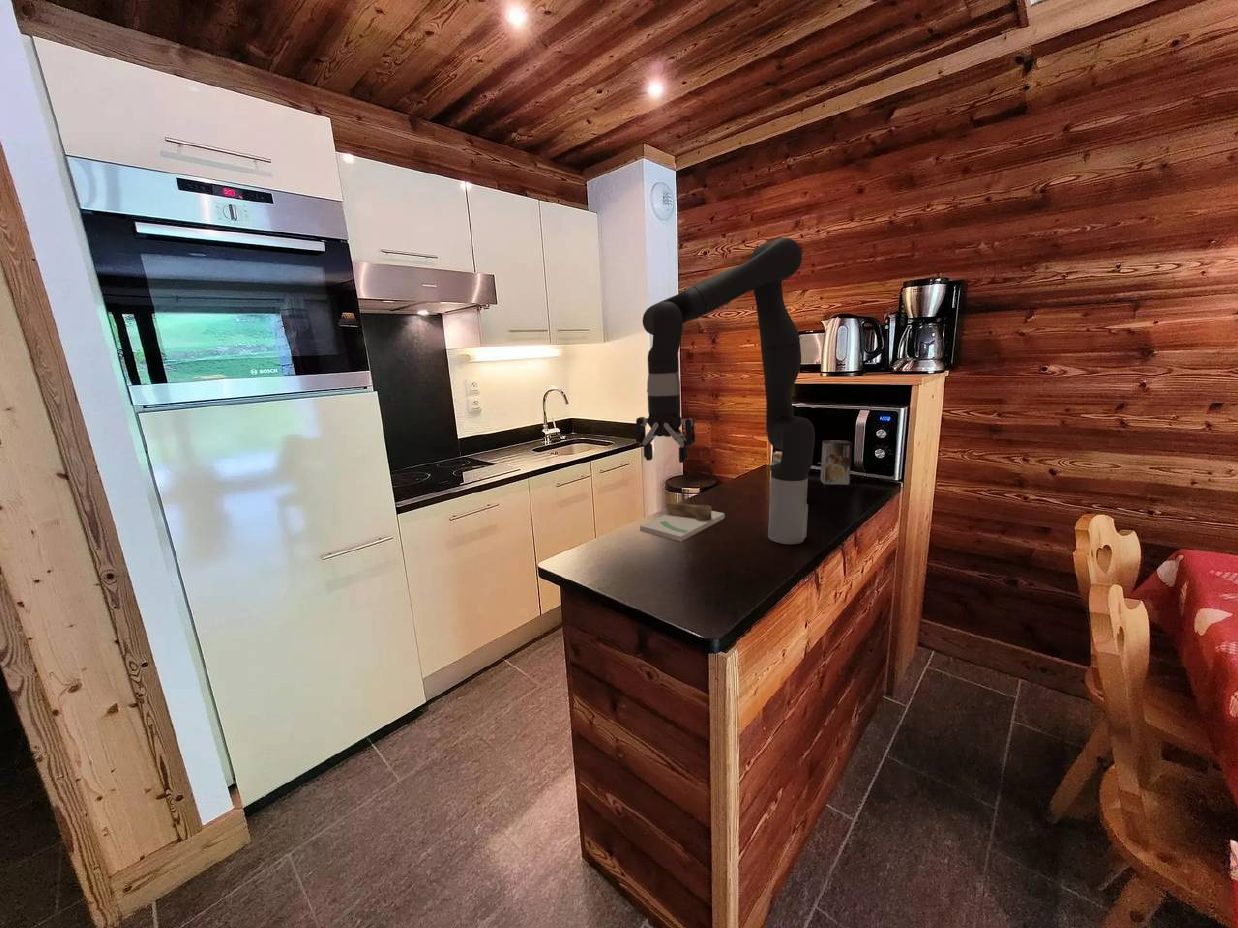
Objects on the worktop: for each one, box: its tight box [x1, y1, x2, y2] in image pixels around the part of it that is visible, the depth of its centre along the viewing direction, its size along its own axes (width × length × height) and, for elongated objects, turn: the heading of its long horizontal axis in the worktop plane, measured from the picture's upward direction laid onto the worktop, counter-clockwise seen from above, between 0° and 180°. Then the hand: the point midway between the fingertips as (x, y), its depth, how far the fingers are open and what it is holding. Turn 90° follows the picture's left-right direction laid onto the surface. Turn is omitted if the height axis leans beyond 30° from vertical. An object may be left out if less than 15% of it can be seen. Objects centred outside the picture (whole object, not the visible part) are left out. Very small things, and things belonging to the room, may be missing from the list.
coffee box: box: [820, 439, 853, 486], centre depth 182 cm, size 9×6×16 cm
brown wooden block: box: [666, 501, 713, 520], centre depth 144 cm, size 14×4×4 cm, turn 62°
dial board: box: [639, 510, 725, 542], centre depth 143 cm, size 24×14×2 cm, turn 139°
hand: (665, 461), depth 115 cm, fingers open, 8 cm apart
